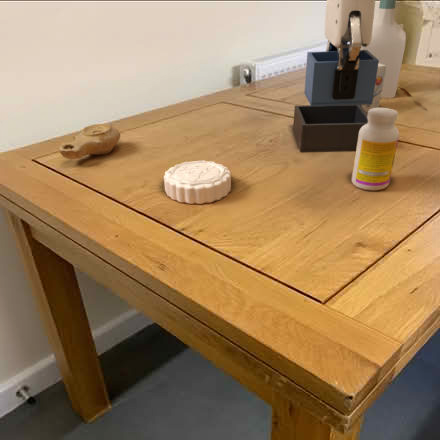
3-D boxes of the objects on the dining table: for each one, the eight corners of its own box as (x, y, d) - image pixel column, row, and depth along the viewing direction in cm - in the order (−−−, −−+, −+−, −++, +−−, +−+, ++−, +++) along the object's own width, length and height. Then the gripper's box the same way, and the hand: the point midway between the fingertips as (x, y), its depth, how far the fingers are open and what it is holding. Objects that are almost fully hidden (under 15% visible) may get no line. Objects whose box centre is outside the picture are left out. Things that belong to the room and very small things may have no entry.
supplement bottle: (394, 191, 83) (410, 116, 75) (357, 193, 82) (370, 118, 74) (380, 175, 88) (395, 104, 80) (346, 177, 88) (357, 106, 80)
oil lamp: (59, 168, 94) (53, 143, 91) (79, 142, 105) (75, 120, 102) (111, 168, 94) (107, 143, 91) (126, 142, 105) (122, 120, 102)
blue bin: (361, 91, 74) (367, 49, 71) (372, 104, 69) (379, 60, 65) (304, 93, 75) (307, 52, 71) (310, 106, 69) (314, 62, 65)
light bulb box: (344, 117, 115) (351, 70, 109) (329, 109, 120) (334, 64, 114) (379, 110, 119) (387, 64, 112) (362, 104, 124) (370, 59, 117)
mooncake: (188, 171, 91) (187, 153, 89) (242, 183, 86) (242, 164, 84) (151, 196, 83) (149, 177, 81) (209, 210, 78) (208, 190, 76)
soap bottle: (355, 99, 127) (373, -22, 110) (350, 91, 133) (366, -25, 116) (396, 99, 126) (420, -23, 109) (389, 91, 132) (411, -26, 116)
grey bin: (355, 129, 108) (359, 104, 105) (370, 150, 98) (374, 123, 94) (292, 130, 109) (294, 105, 105) (300, 152, 98) (302, 125, 95)
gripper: (404, -54, 53) (377, 107, 64) (367, -58, 67) (350, 76, 78) (338, -51, 53) (322, 109, 64) (314, -55, 67) (305, 77, 78)
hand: (337, 90), depth 71 cm, fingers closed on blue bin, 7 cm apart
